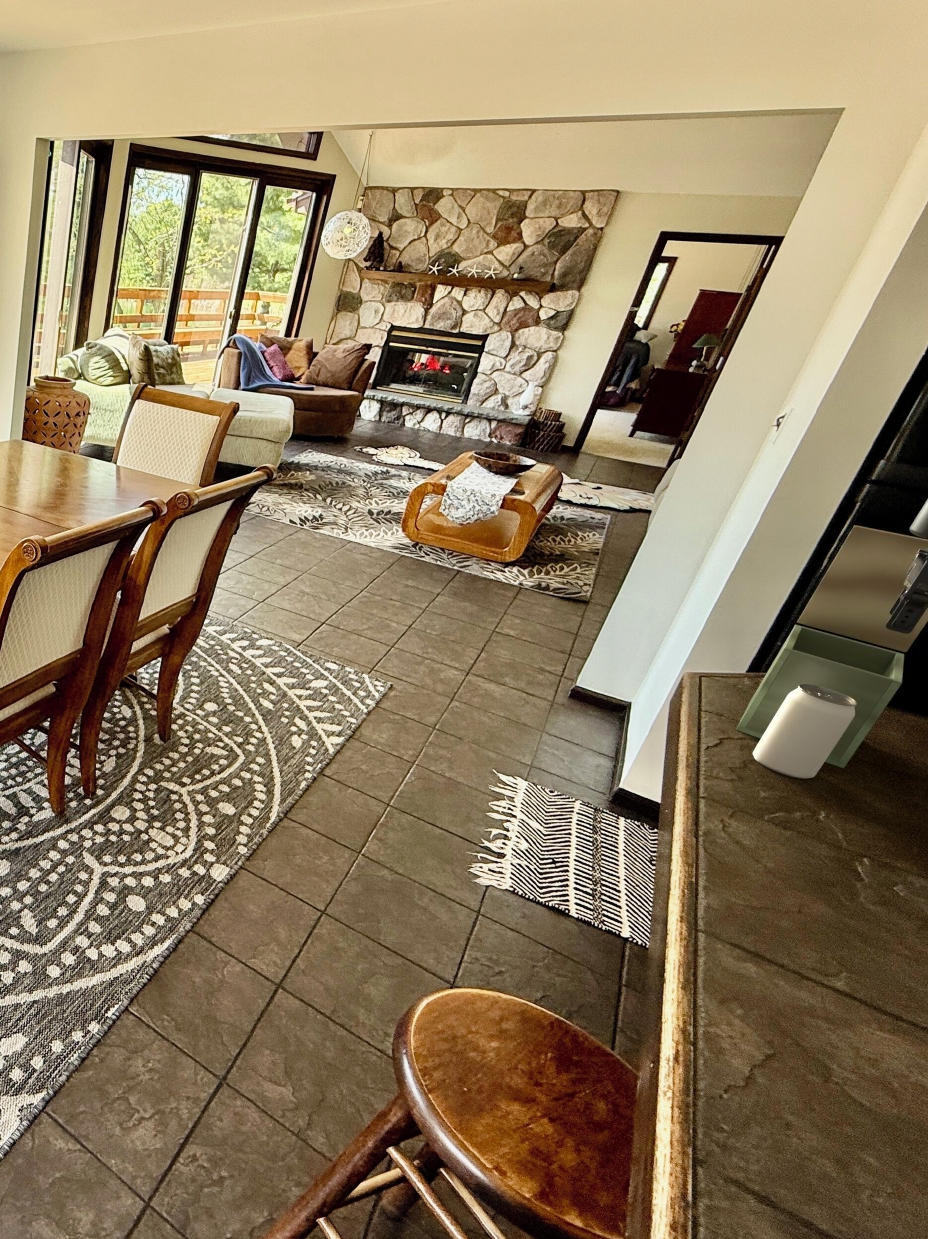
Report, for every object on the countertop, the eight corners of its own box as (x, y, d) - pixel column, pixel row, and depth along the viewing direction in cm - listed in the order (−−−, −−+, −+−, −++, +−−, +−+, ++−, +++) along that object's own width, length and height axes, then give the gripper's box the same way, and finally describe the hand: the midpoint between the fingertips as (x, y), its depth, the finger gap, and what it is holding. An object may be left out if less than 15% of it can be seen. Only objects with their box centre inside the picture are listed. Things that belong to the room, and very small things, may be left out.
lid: (975, 550, 102) (975, 549, 102) (854, 526, 110) (854, 525, 110) (906, 652, 109) (906, 650, 110) (796, 622, 117) (797, 621, 118)
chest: (843, 768, 106) (902, 682, 100) (735, 729, 114) (784, 648, 108) (850, 734, 115) (904, 654, 110) (750, 700, 123) (795, 624, 118)
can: (820, 786, 101) (870, 712, 96) (757, 768, 104) (802, 695, 99) (805, 764, 106) (851, 692, 101) (745, 747, 109) (787, 677, 105)
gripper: (1028, 521, 83) (941, 648, 90) (1022, 505, 91) (943, 623, 98) (927, 503, 88) (851, 624, 95) (930, 490, 97) (860, 602, 103)
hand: (898, 623), depth 96 cm, fingers open, 8 cm apart
